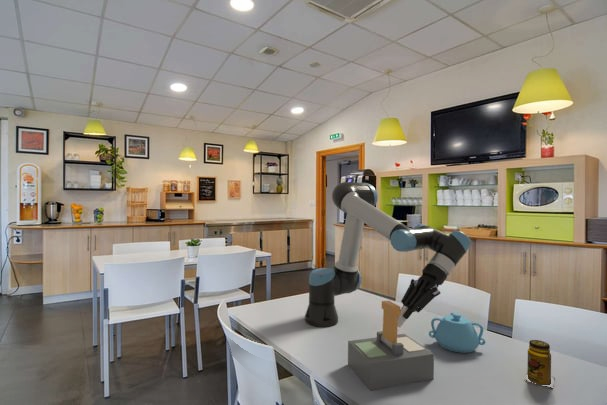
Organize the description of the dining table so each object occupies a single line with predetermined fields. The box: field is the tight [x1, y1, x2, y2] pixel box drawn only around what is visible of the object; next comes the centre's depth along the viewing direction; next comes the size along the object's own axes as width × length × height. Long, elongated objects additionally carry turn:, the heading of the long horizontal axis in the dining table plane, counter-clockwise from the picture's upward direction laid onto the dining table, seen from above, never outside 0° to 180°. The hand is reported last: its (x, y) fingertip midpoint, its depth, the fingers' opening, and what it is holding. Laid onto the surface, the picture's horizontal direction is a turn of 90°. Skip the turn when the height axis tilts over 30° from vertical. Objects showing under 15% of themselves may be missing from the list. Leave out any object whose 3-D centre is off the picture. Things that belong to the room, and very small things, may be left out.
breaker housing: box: [347, 330, 435, 391], centre depth 110 cm, size 22×16×11 cm
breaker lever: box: [381, 300, 401, 349], centre depth 109 cm, size 3×7×14 cm, turn 17°
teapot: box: [428, 312, 486, 354], centre depth 130 cm, size 20×20×13 cm
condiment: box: [524, 339, 552, 389], centre depth 105 cm, size 7×8×12 cm
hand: (396, 324), depth 110 cm, fingers closed
